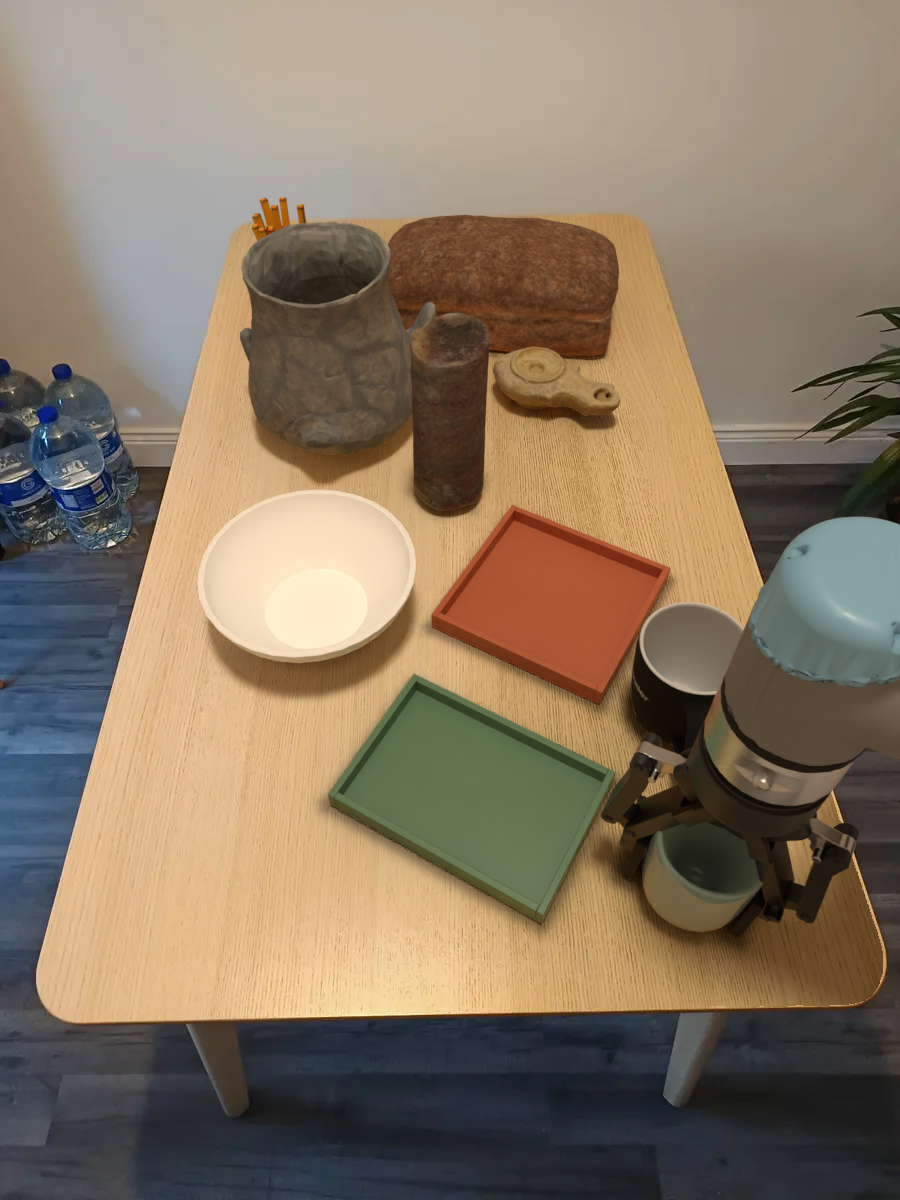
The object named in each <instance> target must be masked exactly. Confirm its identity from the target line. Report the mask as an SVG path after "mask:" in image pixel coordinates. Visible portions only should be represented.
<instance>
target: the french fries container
mask: <svg viewBox="0 0 900 1200" xmlns="http://www.w3.org/2000/svg"><path fill="white" fill-rule="evenodd" d="M278 201H279V204H271V206H270V202H269V199H268V198H267V197H263V198H260V199H259V203H260V207H261V210H262V213H263V217H264V219H265V222H266V225H265V223H264V220H263V218H262V215H261V213H260V212H258V213H257V212H256V213H253V215H252V216H251V219H252V222H253V223H252V225H251V229H252V232H253V234H254V237H255V239H256V242H257V241H259V240H260V239H261V238H263V237H265V236H267V235H269V234H271V233H273V232H275V231H277V230H279V229H281V228H283V227H286V226H289V225H291V223H290V222H291V221H290V214H289V208H288V207H289V206H288V199H287V197H279V199H278ZM296 213H297V219H298V224H299V223H307V217H306V211H305V205H304V204H297V205H296Z"/></svg>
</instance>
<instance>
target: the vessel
mask: <svg viewBox="0 0 900 1200" xmlns="http://www.w3.org/2000/svg"><path fill="white" fill-rule="evenodd" d="M390 260H391V253H390V249H389V246H388V242H387V241H386V240H385V238H384V237H382V236H381V235H380V234H379V233H377V232H376V231H374V230H373V229H371V228H367V227H364V226H361V225H358V224H354V223H351V222H347V221H346V222H344V221H341V222H337V221H327V222H306V223H299V222H298V223H295V224H290V225H289V226H286V227H283V228H281V229H279V230H277V231H275V232H273V233H271V234H269V235H267V236H265V237H263V238H261V239H260V240H259V241H257V240H256V241H255V242H254V243H253V244H252V245H251V247H250V248H249V249H248V250H247V253H246V254H245V255H244V256H243V258H242V261H241V273H242V280H243V283H244V284H245V286H246V289H247V292H248V296H249V300H250V307H251V320H250V322H251V323H250V327H244V328H243V329H242V330H241V331H240V332H239V340H240V343H241V345H242V348H243V351H244V354H245V356H246V358H247V361H248V394H249V398H250V403H251V407H252V410H253V412H254V415H255V416H256V418H257V421H258V422H259V424H260V425H261V427H262V428H264V429H265V430H266V431H268V432H269V433H271V434H272V435H274V436H275V437H277V438H278V439H280V440H282V441H283V442H285V443H287V444H290V445H291V446H293V447H295V448H296V449H299V450H301V451H305V452H310V453H313V454H314V453H315V454H320V455H330V456H332V455H333V456H335V455H348V454H349V455H350V454H355V453H357V452H361V451H365V450H371V449H374V448H377V447H379V446H381V445H383V444H385V443H387V442H389V441H390V440H391V439H393V438H394V437H395V436H396V435H398V434H399V433H400V432H401V430H402V429H403V428H404V426H405V425H406V424H407V422H408V421H409V419H410V418H412V384H411V350H410V338H411V335H412V333H413V331H414V330H416V329H419V328H421V327H422V326H423V325H424V324H425V323H426V322H427V321H428V320H430V319H432V318H434V317H436V306H435V304H434V303H433V302H428V303H426V304H425V305H424V306H423V308H422V310H421V311H420V313H419V315H418V316H417V318H416V320H415V322H414V324H413V326H412V327H410V328H408V329H407V330H405V328H404V326H403V322H402V319H401V317H400V315H399V312H398V309H397V306H396V303H395V301H394V299H393V296H392V294H391V291H390V288H389V265H390Z"/></svg>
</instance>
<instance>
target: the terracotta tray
mask: <svg viewBox="0 0 900 1200" xmlns="http://www.w3.org/2000/svg"><path fill="white" fill-rule="evenodd" d="M670 572H671V567H669V566H667V565H665V564H662V563H660V562H657V561H654V560H652V559H649V558H647V557H645V556H642V555H640V554H636V553H634V552H632V551H629V550H627V549H624V548H621V547H620V546H617V545H614V544H612V543H610V542H607V541H604V540H601V539H600V538H597V537H594V536H592V535H589V534H587V533H584V532H581V531H580V530H577V529H574V528H572V527H569V526H567V525H564V524H562V523H559V522H557V521H554V520H552V519H549V518H546V517H544V516H541V515H539V514H537V513H534V512H531V511H530V510H527V509H524V508H521V507H519V506H516V505H514V504H511V506H510V507H509V508H508V510H507V511H506V512H505V514H504V515H503V517H502V518H501V519H500V520H499V522H498V523H497V524H496V526H495V527H494V529H492V531H491V533H490V534H489V535H488V537H487V538H486V540H485V541H484V542H483V544H482V545H481V546H480V547H479V549H478V550H477V552H476V553H475V554H474V556H473V557H472V559H471V560H470V561H469V562H468V564H467V565H466V567H465V568H464V569H463V571H462V572H461V574H460V575H459V576H458V577H457V579H456V580H455V582H453V584H452V586H451V587H450V588H449V590H448V591H447V593H446V594H445V595H444V596H443V598H442V599H441V600H440V602H439V603H438V604H437V606H436V607H435V609H434V610H433V611H432V613H431V615H430V616H431V627H432V628H433V629H435V630H438V631H439V632H442V633H444V634H446V635H448V636H451V637H453V638H455V639H456V640H459V641H461V642H464V643H465V644H468V645H470V646H471V647H474V648H476V649H478V650H481V651H483V652H485V653H487V654H489V655H491V656H493V657H496V658H498V659H500V660H501V661H504V662H506V663H509V664H510V665H512V666H514V667H517V668H519V669H522V670H523V671H525V672H528V673H530V674H532V675H534V676H536V677H539V678H541V679H543V680H545V681H547V682H549V683H552V684H554V685H556V686H558V687H560V688H562V689H565V690H567V691H569V692H571V693H573V694H575V695H577V696H579V697H582V698H584V699H586V700H588V701H590V702H592V703H594V704H597V705H601V703H602V701H603V700H604V697H605V695H606V694H607V692H608V690H609V688H610V687H611V685H612V683H613V681H614V679H615V677H616V675H617V674H618V672H619V670H620V668H621V666H622V665H623V663H624V660H625V659H626V657H627V655H628V654H629V652H630V650H631V648H632V647H633V644H634V642H635V641H636V638H638V636H639V634H640V631H641V628H642V626H643V624H644V623H645V621H646V620H647V619H648V617H649V616H650V613H651V612H652V609H653V608H654V606H655V604H656V603H657V600H658V598H659V597H660V595H661V593H662V591H663V589H664V588H665V585H666V584H667V582H668V579H669V576H670Z"/></svg>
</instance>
